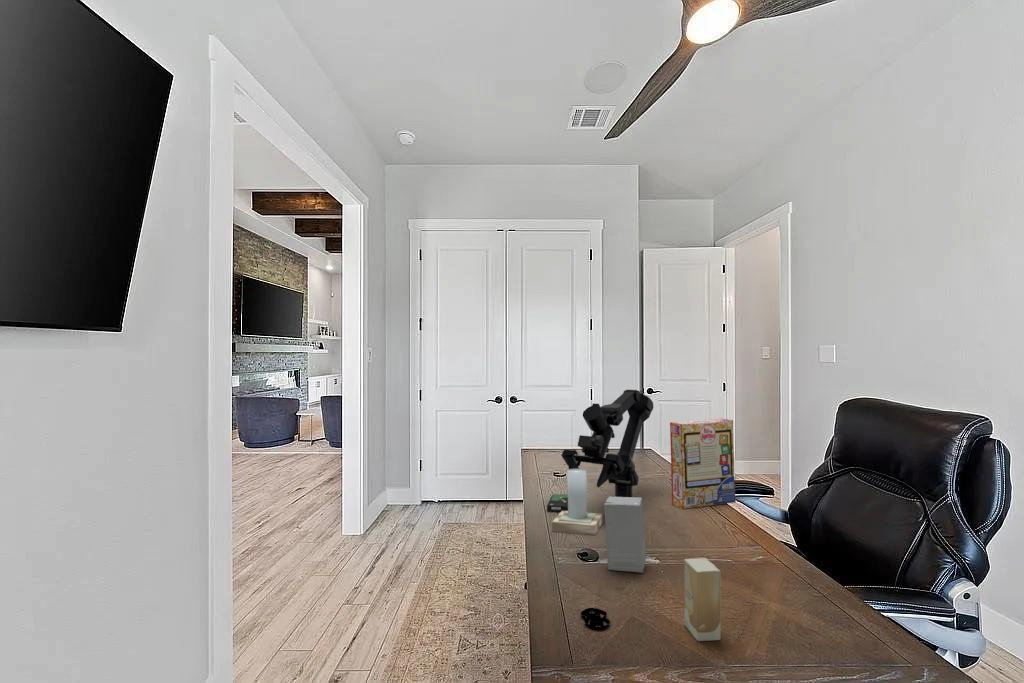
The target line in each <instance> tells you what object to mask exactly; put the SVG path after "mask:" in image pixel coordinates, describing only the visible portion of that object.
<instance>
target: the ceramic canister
mask: <svg viewBox="0 0 1024 683" xmlns="http://www.w3.org/2000/svg"><path fill="white" fill-rule="evenodd" d="M566 476H567V477H566V482H567V485H566V486H567V494H568V517H570V518H573V519H583V518H587V517H588V513H589V512H588V484H587V483H588V481H587V478H588V477H587V469H584V468H579V469H569V468H568V469H567V470H566ZM587 512H588V513H587Z"/></svg>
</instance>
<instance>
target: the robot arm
mask: <svg viewBox="0 0 1024 683" xmlns="http://www.w3.org/2000/svg"><path fill="white" fill-rule="evenodd" d="M653 410H654V402H653V401H652V399H651V397H650V396H648V395H646V394H644V393H642V392H641V391H640V390H637V389H626V390H623V393H622V394H620V396H619V397H617V398H616V399H615V400H614V401H613V402H612V403H610V404H609V403H608V404H604V405H601V406H600V403H592V405H591V406H588V407H587V408H586V409H585V410H583V412H582V417H583V419H584V421H585V423H586V425H587V426H588V428H589V430H590V431H591V432H592V434H591V435H579V436H578V442H577V447H580V448H581V452H582V453H583V454H584V455H583V454H579V453H578V451H577V450H576V449H569V448H565V449H563V451H562V453H561V457H562V460H563V461H564V462H565V464H566V465H567V466H568V469H580V465H581V463H588V464H592V465H593V464H595V465H602V469H601V472H600V473H599V476H598V478H597V482H596V487H597V488H601V486H602V485H604V484H605V483H606V482H607V481H608V484H614V497H633V487H635V486H638V485H639V479H640V478H639V475H638V473H637V471H636V466H635V463H634V459H633V457H634V454H635V452H636V447H637V444H638V441H639V437H640V434H641V429H642V426H643V423H644V422H646V421H647V420H648V419H649V418H650V416H651V414H652V412H653ZM626 412H627V413H628V415H629V416H628V421H627V424H626V427H625V430H624V433H623V438H622V440H621V443H620V447H619V450H618V452H617V453H609V451H610V449H609V444H610V443H611V440H612V439H615V436H616V435H615V433H614V430H613V427H618V426H620V425H621V423H622V422H623V420H624V416H623V415H624V414H625V413H626ZM612 426H613V427H612Z"/></svg>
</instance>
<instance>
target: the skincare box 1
mask: <svg viewBox="0 0 1024 683" xmlns="http://www.w3.org/2000/svg"><path fill="white" fill-rule="evenodd" d="M643 504H644V502H643V497H634V496H632V497H615V496H610V495H609V496H608V497H607V498H606V501H605V502H604V504H603V505H604V507H603V508H604V520H605V540H606V541H605V542H606V544H605V545H606V557H607V558H606V560H607V562H606V563H607V570H608V571H618V572H629V573H641V574H642V573H644V570H645V567H646V566H645V565H646V562H647V561H646V559H647V558H646V557H647V556H646V541H645V540H646V539H645V523H644V505H643Z"/></svg>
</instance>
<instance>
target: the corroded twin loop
mask: <svg viewBox="0 0 1024 683" xmlns="http://www.w3.org/2000/svg"><path fill="white" fill-rule="evenodd" d="M607 614H608V613H607V611H605V610H602V609H600V608H596V607H589V608H586V609H585V608H584V610H582V611H581V612H580V615H581V616H582V619H583V622H584V624H585V625H586V626H587V627H588V628H589V629H591V630H596V631H603V630H605V629H606V628H608V627H609V625H610V623H611V621H610V619H609V618H606V616H607Z"/></svg>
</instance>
